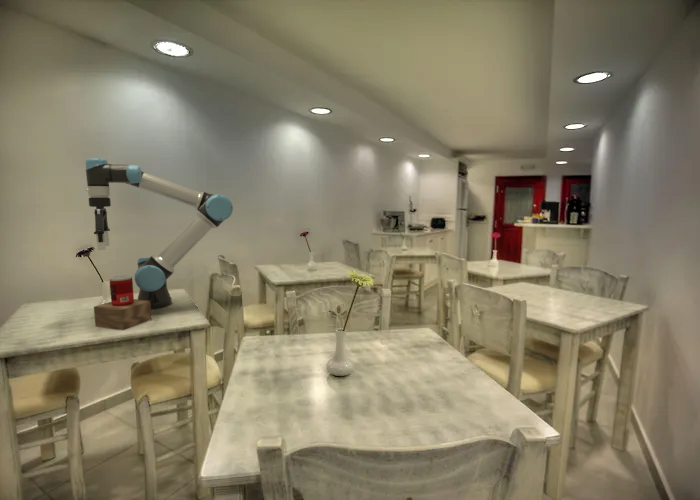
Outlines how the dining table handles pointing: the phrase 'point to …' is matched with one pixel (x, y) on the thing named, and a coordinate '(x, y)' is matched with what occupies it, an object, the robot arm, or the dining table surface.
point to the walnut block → (122, 314)
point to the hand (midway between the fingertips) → (103, 248)
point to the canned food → (121, 290)
